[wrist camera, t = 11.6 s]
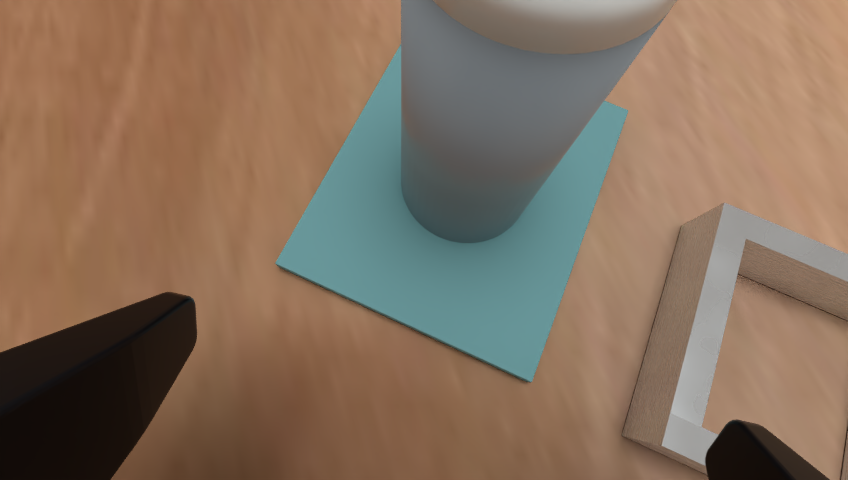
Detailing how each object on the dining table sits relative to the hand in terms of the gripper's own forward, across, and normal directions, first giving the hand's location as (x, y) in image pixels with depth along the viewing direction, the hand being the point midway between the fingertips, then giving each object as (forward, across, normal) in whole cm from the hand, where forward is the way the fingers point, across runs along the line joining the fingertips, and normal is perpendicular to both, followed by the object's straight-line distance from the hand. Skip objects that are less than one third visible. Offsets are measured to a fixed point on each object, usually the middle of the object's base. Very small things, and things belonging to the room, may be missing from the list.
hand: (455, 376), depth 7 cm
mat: (+12, 0, +1) cm, 12 cm away
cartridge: (+11, 0, +1) cm, 11 cm away
